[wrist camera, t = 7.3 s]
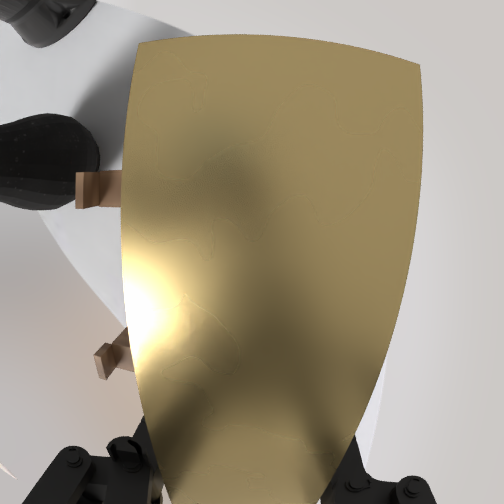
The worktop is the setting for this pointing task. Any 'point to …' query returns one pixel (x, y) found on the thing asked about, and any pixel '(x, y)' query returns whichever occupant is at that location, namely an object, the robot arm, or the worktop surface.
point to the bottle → (44, 160)
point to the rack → (105, 195)
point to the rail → (264, 253)
